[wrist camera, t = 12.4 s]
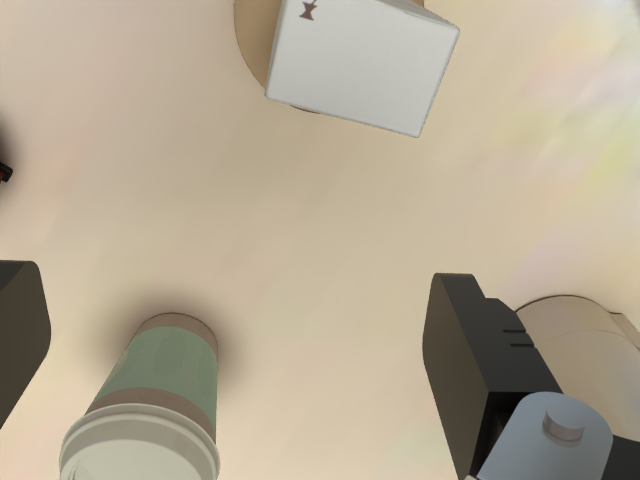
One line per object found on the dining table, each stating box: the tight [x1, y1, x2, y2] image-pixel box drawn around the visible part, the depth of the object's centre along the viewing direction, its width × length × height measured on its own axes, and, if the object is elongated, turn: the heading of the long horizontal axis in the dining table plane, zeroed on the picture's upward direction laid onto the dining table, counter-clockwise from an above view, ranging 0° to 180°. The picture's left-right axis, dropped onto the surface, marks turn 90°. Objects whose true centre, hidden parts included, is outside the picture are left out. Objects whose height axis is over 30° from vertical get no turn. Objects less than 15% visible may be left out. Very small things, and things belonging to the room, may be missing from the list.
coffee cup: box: [59, 313, 220, 480], centre depth 35 cm, size 8×8×12 cm
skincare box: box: [265, 0, 460, 138], centre depth 25 cm, size 6×4×12 cm
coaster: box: [234, 0, 424, 114], centre depth 30 cm, size 10×10×1 cm
